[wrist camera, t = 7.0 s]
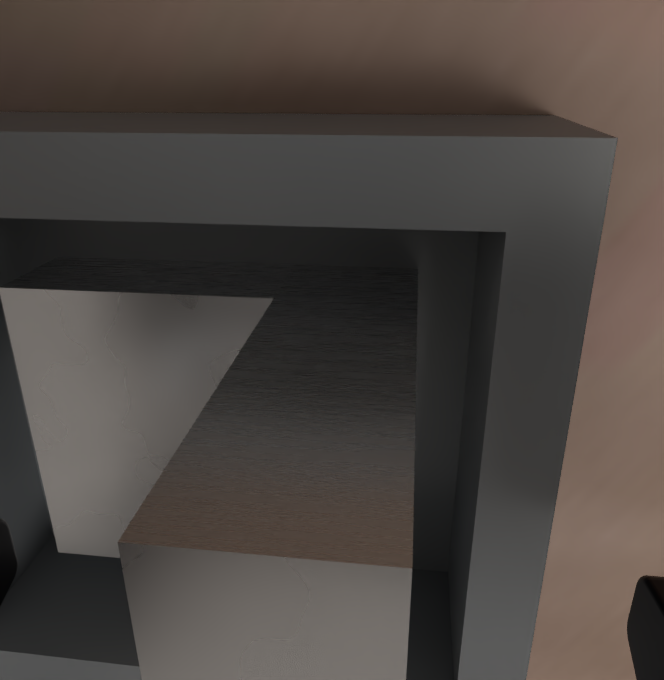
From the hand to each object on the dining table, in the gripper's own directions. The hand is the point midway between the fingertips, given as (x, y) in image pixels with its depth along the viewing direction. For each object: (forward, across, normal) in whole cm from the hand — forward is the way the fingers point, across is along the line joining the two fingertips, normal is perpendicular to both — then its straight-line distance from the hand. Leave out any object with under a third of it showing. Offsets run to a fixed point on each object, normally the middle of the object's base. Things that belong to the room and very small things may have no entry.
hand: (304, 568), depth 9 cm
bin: (+6, +2, 0) cm, 6 cm away
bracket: (+5, +2, 0) cm, 6 cm away
